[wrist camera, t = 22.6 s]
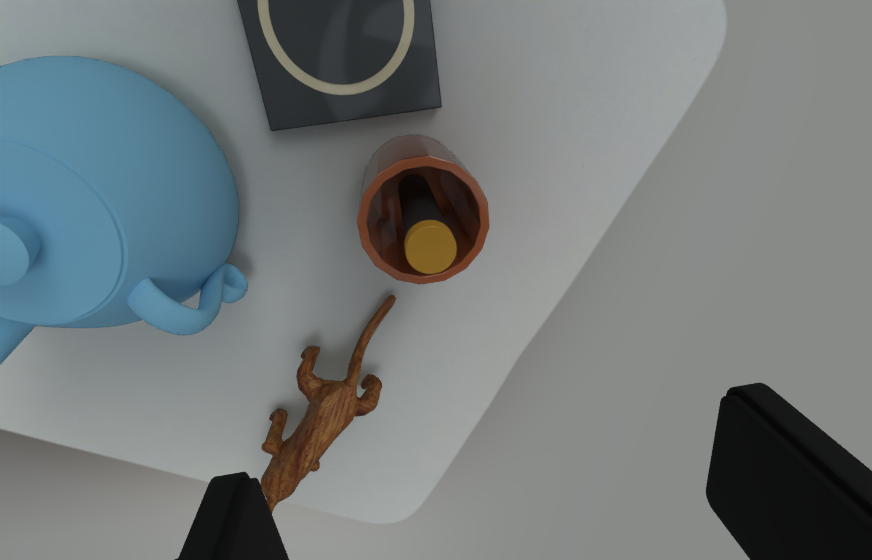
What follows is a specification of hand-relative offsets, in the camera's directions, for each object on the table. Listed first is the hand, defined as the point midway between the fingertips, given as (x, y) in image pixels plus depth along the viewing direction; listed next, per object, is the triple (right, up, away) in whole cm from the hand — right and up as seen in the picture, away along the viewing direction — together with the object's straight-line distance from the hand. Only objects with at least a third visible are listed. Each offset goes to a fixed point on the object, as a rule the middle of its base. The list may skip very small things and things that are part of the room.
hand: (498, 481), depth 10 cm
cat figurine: (-10, -3, +30) cm, 31 cm away
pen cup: (-3, +11, +24) cm, 26 cm away
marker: (-3, +10, +23) cm, 26 cm away
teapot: (-23, +9, +23) cm, 33 cm away
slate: (-7, +20, +19) cm, 29 cm away
